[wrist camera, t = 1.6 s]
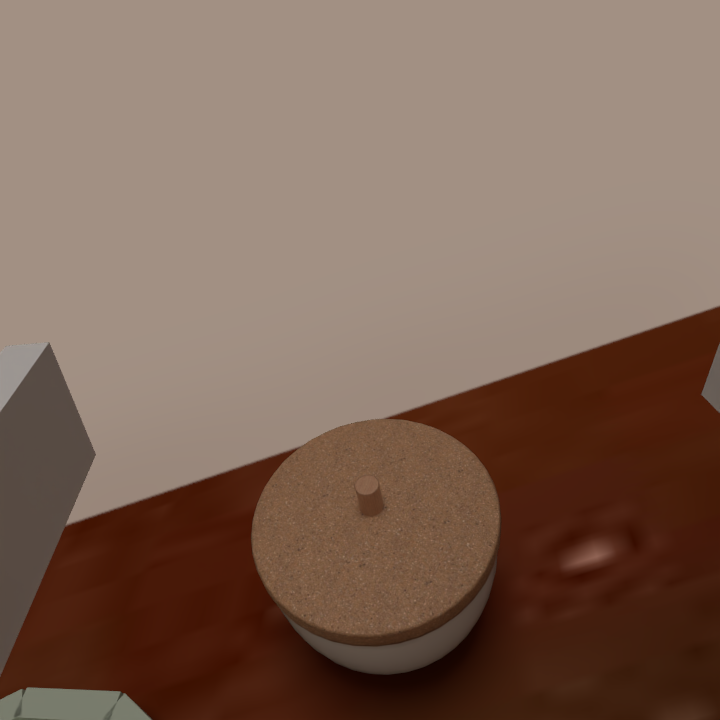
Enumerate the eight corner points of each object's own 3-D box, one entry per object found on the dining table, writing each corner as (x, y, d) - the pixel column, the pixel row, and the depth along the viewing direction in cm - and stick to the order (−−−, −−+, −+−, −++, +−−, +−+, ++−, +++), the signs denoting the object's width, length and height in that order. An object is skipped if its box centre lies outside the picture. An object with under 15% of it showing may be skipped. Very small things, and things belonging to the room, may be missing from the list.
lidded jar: (256, 673, 27) (188, 574, 21) (334, 493, 35) (300, 382, 29) (480, 747, 24) (474, 651, 18) (513, 528, 31) (517, 408, 25)
